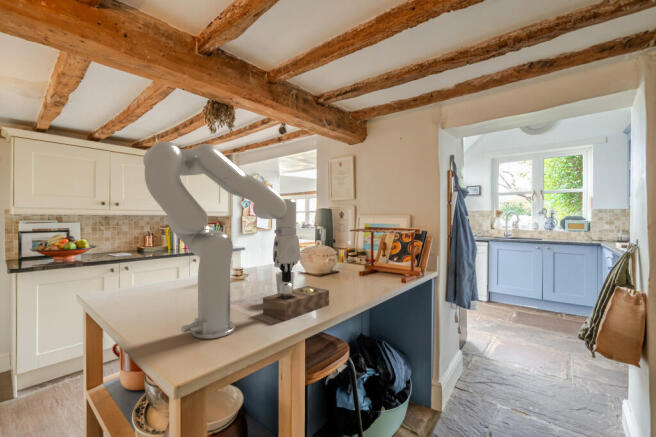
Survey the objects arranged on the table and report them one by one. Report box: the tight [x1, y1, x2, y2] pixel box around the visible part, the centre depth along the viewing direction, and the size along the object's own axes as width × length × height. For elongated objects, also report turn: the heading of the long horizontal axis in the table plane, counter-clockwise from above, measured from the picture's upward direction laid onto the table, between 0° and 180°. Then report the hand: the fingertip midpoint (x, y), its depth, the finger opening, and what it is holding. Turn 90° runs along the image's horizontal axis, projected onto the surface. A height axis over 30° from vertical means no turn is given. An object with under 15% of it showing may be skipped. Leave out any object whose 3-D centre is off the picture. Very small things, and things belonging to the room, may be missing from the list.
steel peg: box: [280, 282, 292, 300], centre depth 109 cm, size 4×4×6 cm
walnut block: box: [262, 285, 330, 322], centre depth 114 cm, size 24×12×6 cm, turn 141°
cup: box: [275, 271, 296, 294], centre depth 124 cm, size 8×8×12 cm
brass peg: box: [303, 288, 314, 294], centre depth 118 cm, size 4×4×6 cm
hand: (286, 281), depth 109 cm, fingers closed
